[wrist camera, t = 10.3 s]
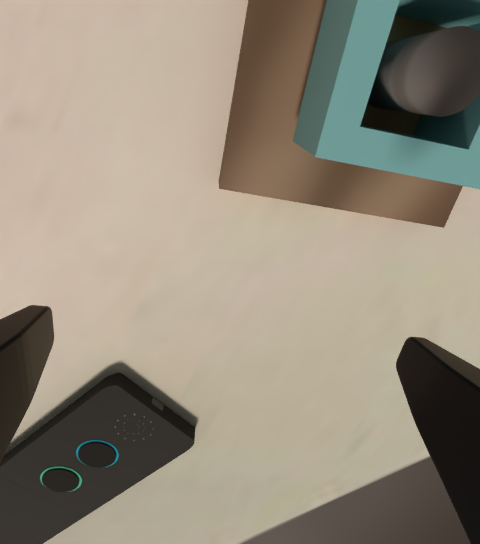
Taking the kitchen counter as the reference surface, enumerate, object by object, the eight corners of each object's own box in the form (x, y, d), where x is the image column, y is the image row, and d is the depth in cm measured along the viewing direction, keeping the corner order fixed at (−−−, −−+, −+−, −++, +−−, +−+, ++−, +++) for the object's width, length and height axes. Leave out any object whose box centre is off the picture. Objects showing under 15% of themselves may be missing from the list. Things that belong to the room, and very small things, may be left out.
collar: (292, 140, 16) (315, 156, 12) (337, -44, 13) (382, -91, 10) (426, 167, 17) (482, 189, 13) (494, 0, 14) (589, -29, 11)
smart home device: (199, 446, 26) (25, 557, 31) (200, 426, 28) (34, 535, 33) (110, 382, 23) (-68, 517, 28) (116, 363, 25) (-54, 494, 30)
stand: (218, 181, 19) (221, 228, 13) (270, -134, 14) (316, -312, 8) (429, 218, 21) (521, 275, 15) (546, -50, 16) (767, -140, 9)
